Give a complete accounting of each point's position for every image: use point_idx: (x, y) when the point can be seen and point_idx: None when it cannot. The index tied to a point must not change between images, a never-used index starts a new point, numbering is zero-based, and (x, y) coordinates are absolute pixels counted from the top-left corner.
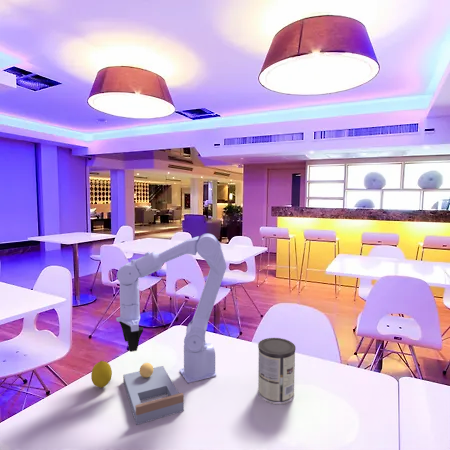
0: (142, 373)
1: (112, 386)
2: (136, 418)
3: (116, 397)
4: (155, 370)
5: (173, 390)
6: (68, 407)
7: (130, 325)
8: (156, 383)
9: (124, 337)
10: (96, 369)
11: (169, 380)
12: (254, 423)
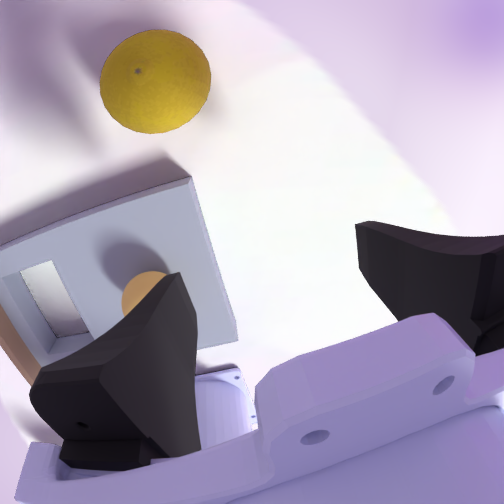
0: (124, 289)
1: (169, 132)
2: None
3: (90, 165)
4: (205, 317)
5: None
6: (70, 13)
7: (42, 492)
8: (110, 320)
9: (370, 231)
10: (108, 58)
11: None
12: (48, 432)
